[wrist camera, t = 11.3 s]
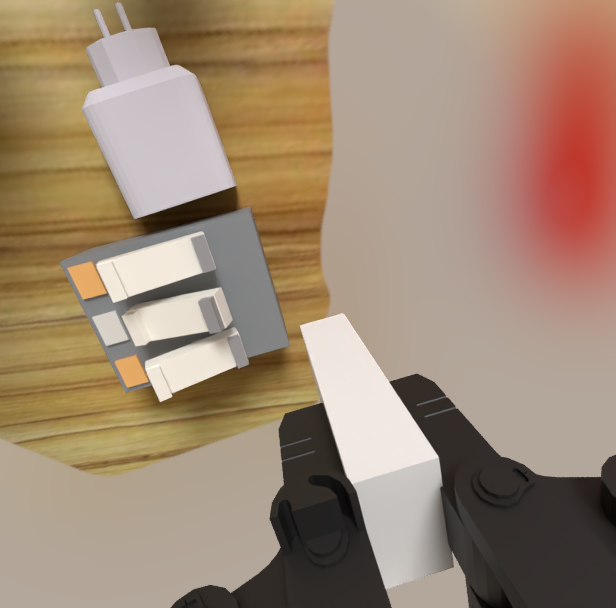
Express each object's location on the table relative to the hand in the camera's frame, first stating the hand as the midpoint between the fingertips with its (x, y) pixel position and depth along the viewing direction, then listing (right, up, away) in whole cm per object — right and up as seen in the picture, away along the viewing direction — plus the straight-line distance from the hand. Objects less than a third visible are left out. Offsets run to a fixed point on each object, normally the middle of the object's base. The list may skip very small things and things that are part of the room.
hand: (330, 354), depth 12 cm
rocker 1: (-13, +5, +16) cm, 21 cm away
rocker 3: (-10, -3, +19) cm, 22 cm away
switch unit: (-13, +3, +25) cm, 28 cm away
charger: (-14, +18, +20) cm, 31 cm away
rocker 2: (-12, +1, +18) cm, 21 cm away
